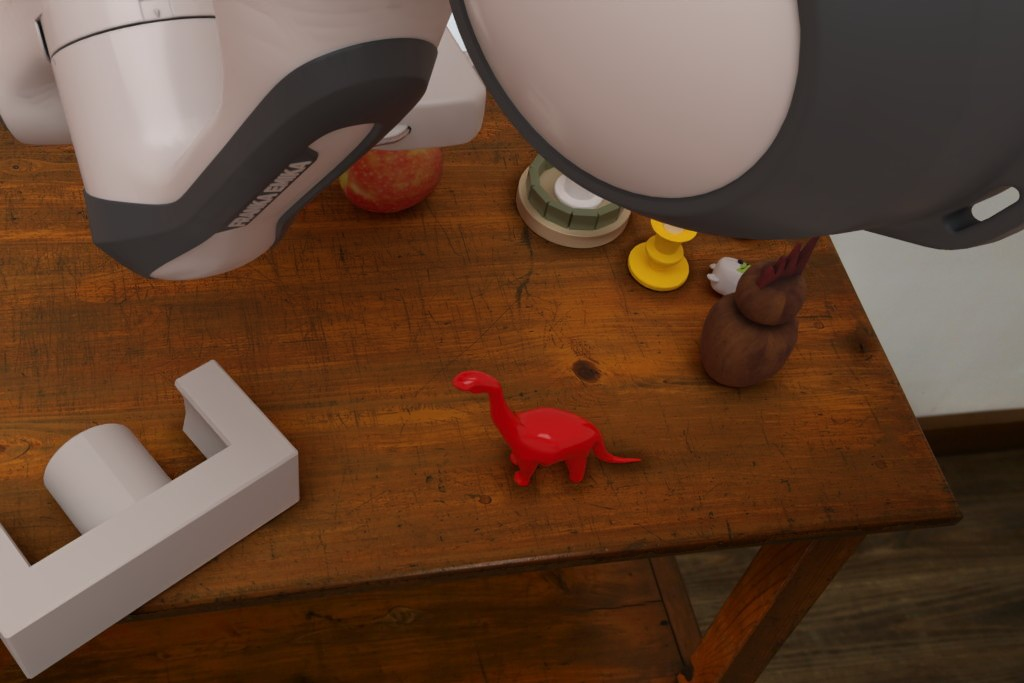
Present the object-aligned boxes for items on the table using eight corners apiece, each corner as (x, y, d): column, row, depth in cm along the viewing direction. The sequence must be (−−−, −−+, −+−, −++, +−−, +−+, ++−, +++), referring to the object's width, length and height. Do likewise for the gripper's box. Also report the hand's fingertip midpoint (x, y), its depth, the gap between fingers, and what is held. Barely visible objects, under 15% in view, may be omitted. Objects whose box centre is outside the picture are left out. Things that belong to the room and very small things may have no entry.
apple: (326, 172, 89) (326, 99, 82) (419, 158, 91) (426, 86, 85) (351, 239, 84) (353, 167, 78) (448, 222, 87) (458, 151, 81)
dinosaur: (646, 485, 74) (695, 387, 65) (439, 503, 71) (458, 403, 61) (633, 438, 76) (678, 337, 67) (432, 454, 73) (449, 349, 64)
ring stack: (651, 225, 90) (660, 198, 88) (559, 264, 86) (566, 237, 83) (584, 153, 95) (591, 125, 92) (493, 187, 90) (498, 159, 88)
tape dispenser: (29, 681, 60) (5, 638, 55) (-48, 566, 63) (-77, 517, 59) (300, 500, 69) (299, 451, 65) (220, 410, 73) (213, 357, 68)
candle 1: (559, 169, 91) (596, 19, 79) (608, 183, 91) (652, 35, 78) (548, 203, 88) (584, 52, 76) (598, 217, 88) (642, 69, 76)
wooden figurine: (760, 338, 84) (831, 208, 72) (780, 396, 81) (858, 270, 69) (681, 339, 83) (740, 208, 71) (699, 399, 80) (763, 271, 68)
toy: (883, 345, 79) (706, 260, 83) (864, 378, 81) (691, 293, 84) (891, 316, 85) (725, 237, 88) (873, 347, 86) (710, 269, 90)
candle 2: (697, 286, 86) (758, 147, 74) (640, 296, 85) (694, 154, 73) (673, 241, 89) (728, 99, 77) (618, 249, 88) (665, 106, 76)
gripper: (337, 107, 54) (573, 65, 58) (232, -105, 64) (439, -125, 69) (337, 194, 58) (554, 149, 63) (239, -15, 69) (432, -40, 74)
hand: (494, 5), depth 66 cm, fingers open, 8 cm apart
